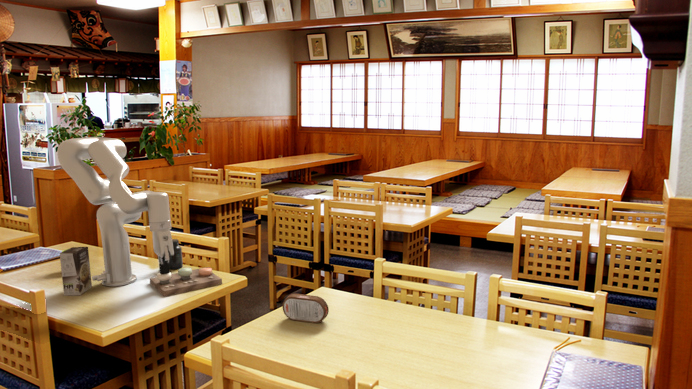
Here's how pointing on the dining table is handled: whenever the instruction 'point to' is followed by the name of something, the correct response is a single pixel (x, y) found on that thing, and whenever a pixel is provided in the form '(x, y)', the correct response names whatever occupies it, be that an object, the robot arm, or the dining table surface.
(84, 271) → the coffee box
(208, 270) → the terracotta button
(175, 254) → the supplement bottle
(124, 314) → the dining table surface
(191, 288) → the button panel
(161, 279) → the cream button
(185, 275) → the sage button
